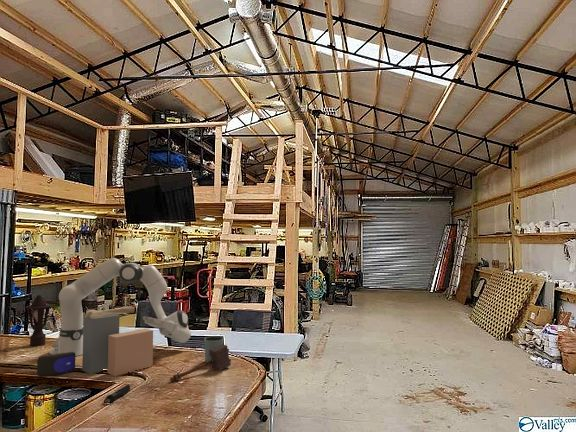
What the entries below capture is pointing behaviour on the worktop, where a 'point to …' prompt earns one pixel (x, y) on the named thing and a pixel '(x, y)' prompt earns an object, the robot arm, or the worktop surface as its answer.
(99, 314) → the T-bar
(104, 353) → the grey upright block
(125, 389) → the electric trimmer
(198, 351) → the worktop surface
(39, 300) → the lantern
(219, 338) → the grey green cup
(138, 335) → the tan upright block
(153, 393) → the worktop surface
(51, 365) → the leaning round-cornered charcoal block
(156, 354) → the worktop surface
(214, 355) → the hammer
